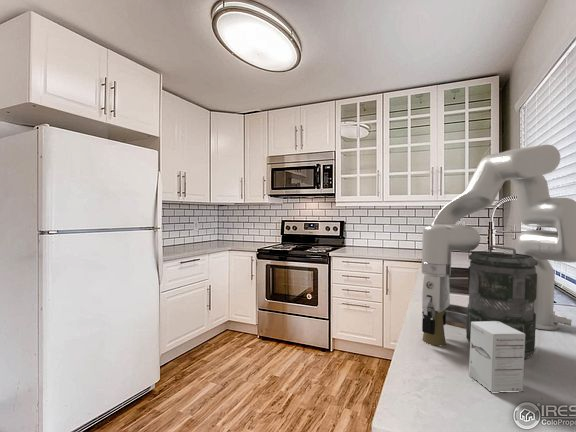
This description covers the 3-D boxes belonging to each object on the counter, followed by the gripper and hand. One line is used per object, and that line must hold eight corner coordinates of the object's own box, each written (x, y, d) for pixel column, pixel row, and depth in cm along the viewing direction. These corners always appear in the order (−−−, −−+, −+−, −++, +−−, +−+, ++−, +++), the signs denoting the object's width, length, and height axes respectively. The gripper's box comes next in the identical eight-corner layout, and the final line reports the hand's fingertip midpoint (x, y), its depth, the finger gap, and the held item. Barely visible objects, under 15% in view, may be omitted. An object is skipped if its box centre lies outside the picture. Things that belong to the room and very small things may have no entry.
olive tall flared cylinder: (440, 337, 94) (441, 300, 93) (449, 346, 88) (450, 307, 87) (419, 336, 94) (420, 300, 94) (426, 345, 88) (427, 306, 88)
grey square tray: (475, 321, 108) (476, 309, 108) (468, 329, 101) (469, 316, 101) (444, 314, 115) (444, 302, 115) (435, 321, 108) (436, 308, 108)
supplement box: (467, 375, 72) (469, 320, 72) (498, 374, 73) (499, 320, 73) (490, 394, 65) (493, 333, 65) (524, 393, 66) (526, 333, 65)
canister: (453, 339, 93) (456, 243, 92) (491, 332, 98) (494, 242, 98) (507, 364, 78) (511, 251, 77) (548, 355, 84) (552, 249, 83)
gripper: (440, 275, 81) (438, 341, 82) (458, 266, 94) (456, 323, 95) (411, 271, 86) (409, 333, 87) (432, 263, 99) (430, 317, 100)
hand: (434, 328), depth 91 cm, fingers open, 9 cm apart
